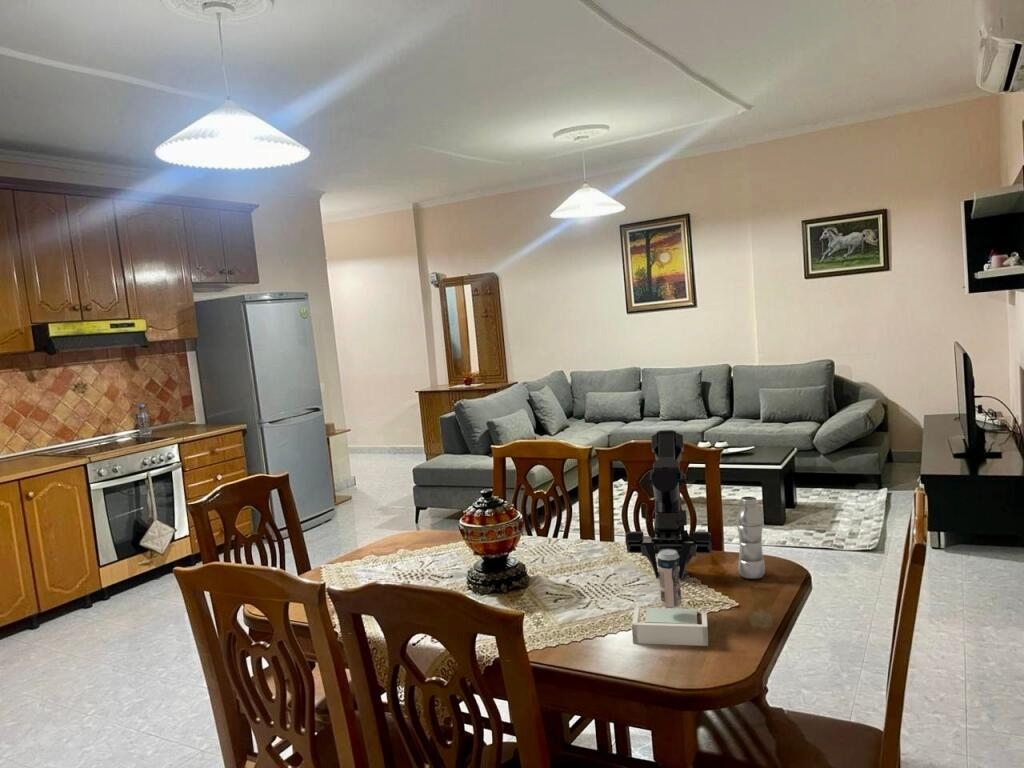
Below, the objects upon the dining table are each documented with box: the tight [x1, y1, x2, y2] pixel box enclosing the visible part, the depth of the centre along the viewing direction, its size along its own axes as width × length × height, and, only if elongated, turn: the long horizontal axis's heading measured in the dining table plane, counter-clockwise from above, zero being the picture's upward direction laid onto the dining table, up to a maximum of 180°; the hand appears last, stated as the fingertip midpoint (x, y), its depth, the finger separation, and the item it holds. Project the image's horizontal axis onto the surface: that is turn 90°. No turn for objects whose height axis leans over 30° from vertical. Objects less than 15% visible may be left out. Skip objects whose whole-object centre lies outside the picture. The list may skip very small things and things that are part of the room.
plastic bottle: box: [735, 495, 766, 580], centre depth 181 cm, size 6×7×20 cm
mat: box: [644, 607, 698, 624], centre depth 162 cm, size 8×11×1 cm
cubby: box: [631, 606, 709, 647], centre depth 153 cm, size 9×15×4 cm, turn 77°
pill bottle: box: [656, 549, 683, 609], centre depth 161 cm, size 5×5×12 cm
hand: (669, 578), depth 160 cm, fingers closed on pill bottle, 5 cm apart
